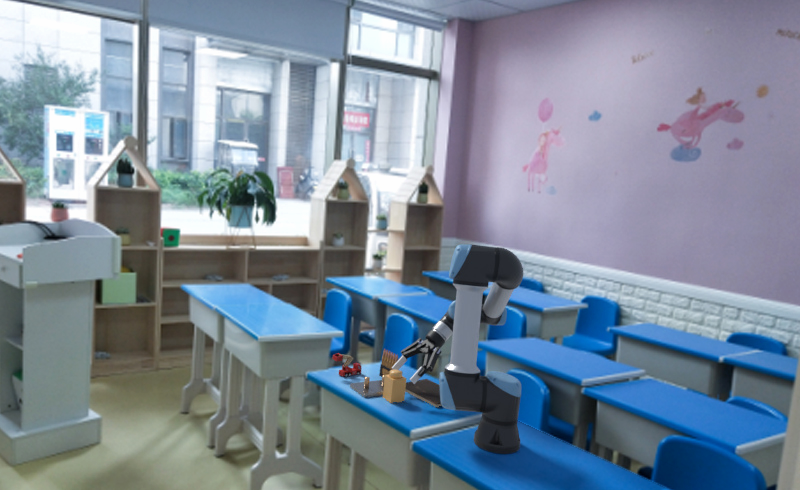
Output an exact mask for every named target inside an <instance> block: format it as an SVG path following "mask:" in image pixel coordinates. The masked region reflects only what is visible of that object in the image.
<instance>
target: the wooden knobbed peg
mask: <svg viewBox="0 0 800 490" xmlns="http://www.w3.org/2000/svg"><path fill="white" fill-rule="evenodd" d="M406 382H407V378H406V377H405V376H403V371H402V370H401V369H399V370H390V374H389V375H385V379H384V389H383V395H382V398H383V399H384V398H385V399H386V400H385V399H384V400H385V401H387V402H388V401H389V402H388V403H390V404H394V403H393V402H397V403H403V402H402V401H404V402H405V398H406V397H405V396H406V392H405V389H406Z"/></svg>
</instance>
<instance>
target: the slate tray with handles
mask: <svg viewBox="0 0 800 490" xmlns="http://www.w3.org/2000/svg"><path fill="white" fill-rule="evenodd" d="M384 379H385V375H382V377H381V379H378V380H370V376H364V380H363V381H359V382H350V383H349V388H351V389H352V390H353V389H354V391H355V392H356V391H357V392H358V393H357V392H356V393H357V394H358V395H360V394H361V395H362V396H361V395H360V396H361V397H363V396H364V397H366V398H370V397H371V398H372V396H374V397H380V396H381V395H382V396H383V389H384ZM382 396H381V397H382ZM364 397H363V398H364Z"/></svg>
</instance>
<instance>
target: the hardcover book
mask: <svg viewBox="0 0 800 490" xmlns="http://www.w3.org/2000/svg"><path fill="white" fill-rule="evenodd" d="M405 393H407V394H409V395H411V396H413V397H414V398H416V399H419V400H420V399H421V401H422V402H424V401H425V402H424V403H426V402H427V403H426V404H428V403H429V404H428V405H430V404H431V405H430V406H432V405H433V406H432V407H434V406H435V407H434V408H436V407H437V408H440V407H439V406H442V405H441V400H440V386H439V383H436V382H434V381H433V380H430V379H428V378H423V379H419V380H418V381H417V382H416V383H415V384H413V382H412V381H408V382H407V381H406V389H405ZM442 407H443V406H442Z"/></svg>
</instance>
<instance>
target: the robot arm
mask: <svg viewBox="0 0 800 490" xmlns="http://www.w3.org/2000/svg"><path fill="white" fill-rule="evenodd" d="M523 277H524V267H523V264H522V262H521V260H520V259H519V257H518V256H517V255H516V254H515V253H514V252H513V251H511V250H509V249H507V248H504V247H500V246H488V245H480V244H479V245H478V244H468V243H467V244H466V243H462V244H457V246H455V249H454V251H453V254H452V257H451V261H450V265H449V271H448V278H449V279H451V280H452V285H453V287H454V288H455V289H456V295H455V300H453V301H452V302H451V303H450V304H449V305H448V309H447V311H446V312H445V313H444V315H443V316H442V317H441V318H440V319H439V320H438V321H437V322H436V323H435V324H434V325H433V326H432V329H430V330H429V331H428V332H427V333H426V335H425V339H424V340H423V339H422V338H421V337H419V338H418V339H417V340H415V341H414V342H413V343H411V344H410V345H408V346H406V347H405V348H403V349H402V350H401V351H400V353H401V356H400V357H398V361H397V362H396V363H395V364H394V366H393V367H392V369H393V370H401V368H402V367H403V366H404V365H405V363H406V362H408V359H409V358H411V357H414V356H416V355H418V354H424V360H423V364H422V365H421V366H420V367H419V368H418V369H416V371H415V372H414V374H413V375H412V376H411V377H410V378H409V380H410V382H413V384H415V383H416V382H417V381H418V380H421V379H420V378H422V377H423V376H424V375H425V374H426V373H427V372H430V373H431V372H433V371H434V368H435V366H436V363H437V360H438V359H439V356H440V354H441V353H442V350H441V348H442V347H443V346H444V345H445V344H446V341H448V340H449V339H450V338H452V339H451V346H450V347H451V348H450V358H449V363H447V364H446V365H445V366H444V371H441V372H439V377H438V378H439V381H438V384H439V386H440V400H441V405H442V408H443V409H446V410H451V411H452V410H453V411H461V412H474V413H481V419H480V421H479V424H478V426H477V428H476V429H475V432H474V435H473V442H474V444H475V445H476V446H477V447H478V448H480V449H482V450H484V451H487V452H489V453H494V454H501V455H502V454H505V455H506V454H507V455H508V454H509V455H510V454H514V453H517V452H518V451H520V448H521V437H520V433H519V427H518V419H519V412H520V403H521V397H522V383H521V381H520V380H519V379H518V378H517V377H515V376H514V375H512V374H509V373H505V372H502V371H498V370H489V371H487V372H486V373H485V376H484V375H481V370H480V368H479V367H478V366H477V360H478V359H477V358H478V349H479V348H478V347H479V337H480V327H481V325H489V326H504V325H505V324H506V322H507V316H508V314H507V313H508V311H507V308H506V306H507V304H508V302H509V301H510V299H511V296H512V295H513V292H514V291H515V289H517V288H518V287H519V286H520V285H521V283H522V281H523ZM489 283H492V285H491V287H490V289H489V292H488V294H487V296H486V299H485V301H484V303H483V294H484V292H485V291H486V290H488V288H489Z"/></svg>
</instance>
